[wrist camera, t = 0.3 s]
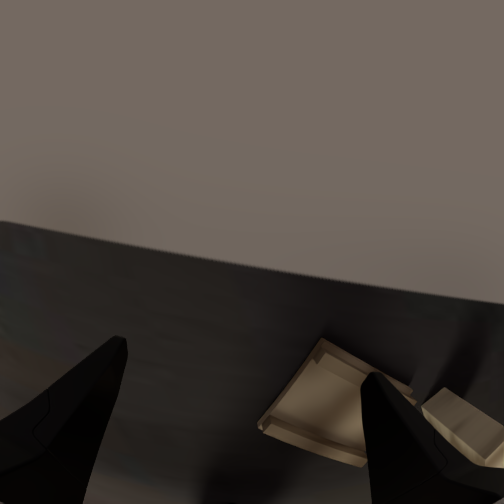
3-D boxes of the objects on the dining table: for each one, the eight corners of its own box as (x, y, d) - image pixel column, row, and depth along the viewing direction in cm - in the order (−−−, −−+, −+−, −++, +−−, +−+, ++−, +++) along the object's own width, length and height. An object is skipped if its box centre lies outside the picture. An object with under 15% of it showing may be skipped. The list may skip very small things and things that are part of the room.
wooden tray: (408, 386, 25) (420, 396, 22) (350, 458, 24) (357, 471, 22) (321, 337, 24) (330, 346, 21) (257, 422, 24) (259, 437, 21)
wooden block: (451, 417, 25) (508, 462, 13) (429, 435, 25) (483, 486, 13) (444, 386, 25) (512, 431, 13) (421, 405, 25) (485, 459, 13)
